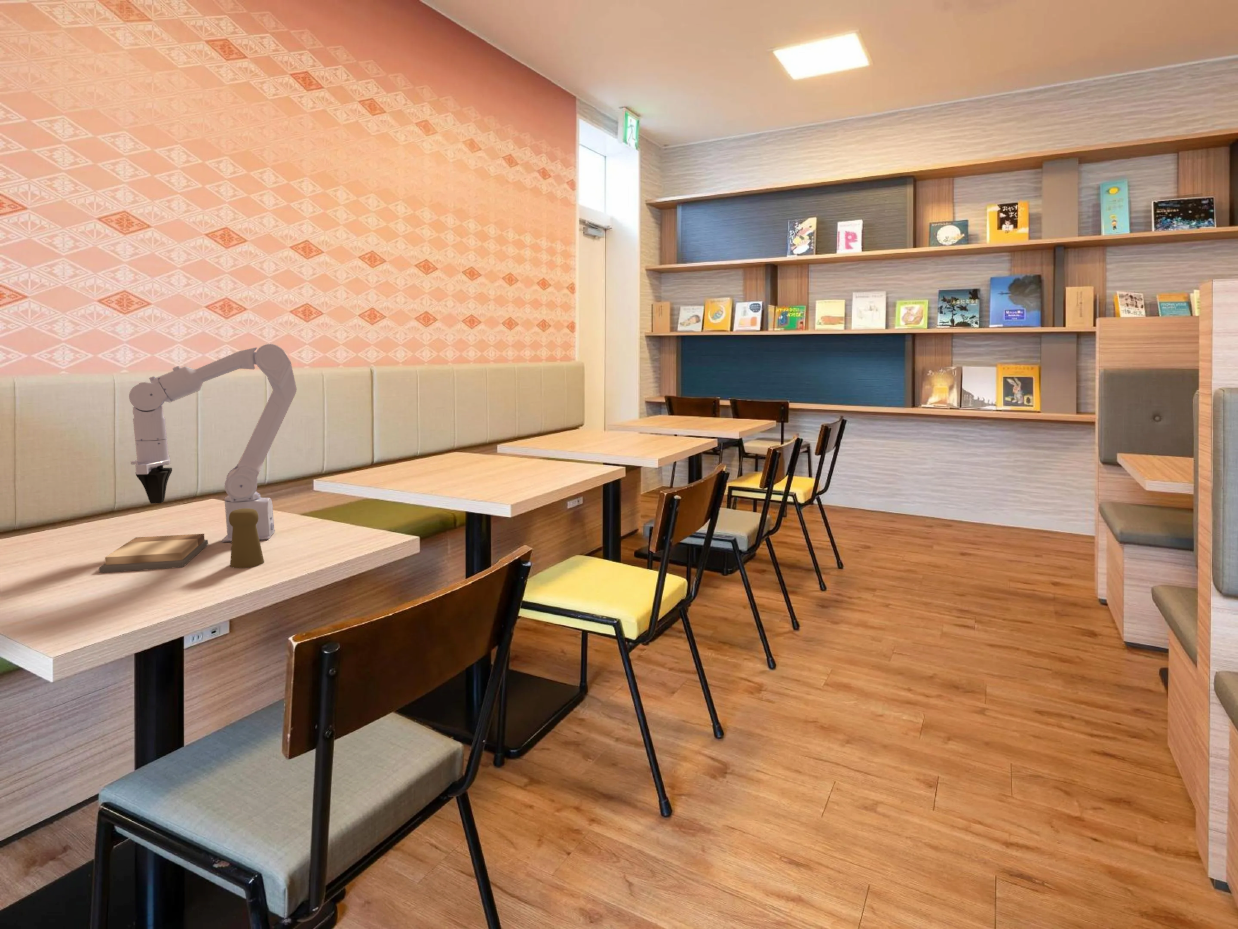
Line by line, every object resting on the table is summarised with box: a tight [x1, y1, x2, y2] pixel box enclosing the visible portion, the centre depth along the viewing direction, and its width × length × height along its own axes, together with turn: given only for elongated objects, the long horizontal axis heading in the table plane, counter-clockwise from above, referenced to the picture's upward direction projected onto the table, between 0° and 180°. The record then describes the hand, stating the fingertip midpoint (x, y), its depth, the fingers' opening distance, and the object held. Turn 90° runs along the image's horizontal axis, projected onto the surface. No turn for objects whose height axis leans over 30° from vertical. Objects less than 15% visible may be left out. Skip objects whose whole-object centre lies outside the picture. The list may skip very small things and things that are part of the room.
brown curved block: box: [127, 533, 206, 546], centre depth 153 cm, size 13×4×2 cm, turn 105°
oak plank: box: [104, 539, 198, 565], centre depth 145 cm, size 13×11×2 cm
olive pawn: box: [229, 508, 265, 569], centre depth 142 cm, size 6×6×11 cm
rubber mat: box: [98, 539, 209, 573], centre depth 147 cm, size 14×18×1 cm
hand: (157, 502), depth 155 cm, fingers closed
